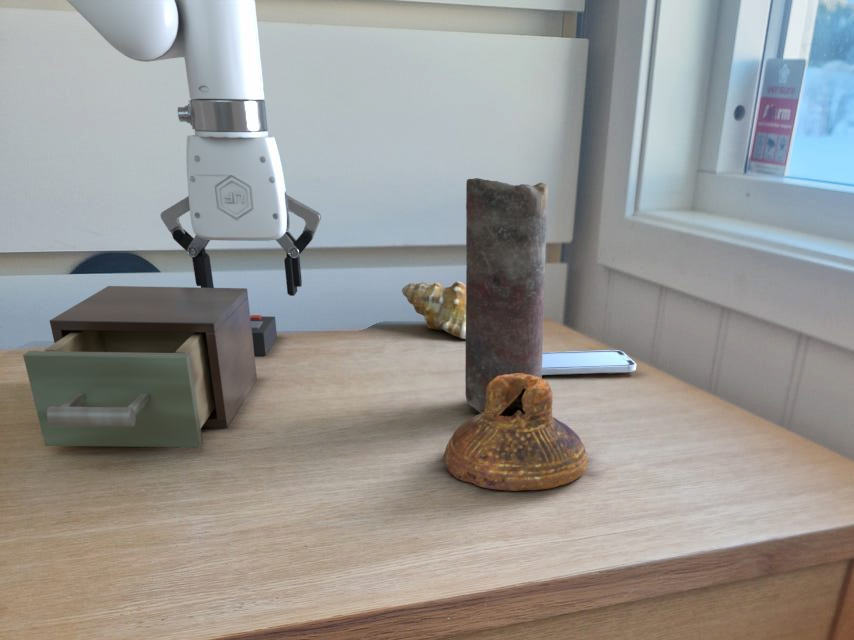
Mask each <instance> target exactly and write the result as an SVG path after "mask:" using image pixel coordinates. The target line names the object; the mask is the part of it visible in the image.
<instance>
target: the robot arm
mask: <svg viewBox="0 0 854 640" xmlns="http://www.w3.org/2000/svg"><path fill="white" fill-rule="evenodd" d="M66 1H67V3H68V4H70V5H71V6H72V7H73V9H75V10H76V11H77V12H78V13H79V14H80V15H81V17H82V18H84V19H85V21H87V22H88V23H89V24H90V25H91V26H92V27H93V29H94V30H96V32H97V33H98V34H99V35H100V36H102V38H103V39H104V40H105V41H106V42H107V43H108V44H109V45H110V46H111V47H112V48H114V49H115V50H116V51H117V52H119V53H121V55H123V56H126V57H127V58H129V59H132V60H134V61H137V62H146V63H147V62H148V63H149V62H156V61H164V60H169V59H178V58H184V64H185V72H186V79H187V85H188V94H189V100H188V104H187V105H184V106H178V107H177V117H178V120H179V123H187V124H190V126H191V128H192V130H194V134H192V135H187V136H186V157H185V158H186V159H185V160H186V179H187V194H188V196H186V197H185V198H183V199H181V200H179V201H178V202H176V203H174V204H173V205H172V206H170V207H168V208H167V209H165V210H163V211H162V212H161V213H160V219H161V220H162V222H163V224H164V225H165V227H166V228H167V230H168V231H169V232H170V234H171V235H172V239H173V240H174V241H175V242H176V243H177V244H178V245H179V246H180V247H181V248H182V249H183V250H184V251H186V253H187V254H188V256H189V257H191V260H192V267H193V273H194V278H195V281H194V282H195V285H196V286H197V287H200V288H215V285H214V279H213V273H212V264H211V257H210V255H209V254H208V252H206V251H207V250H206V247H207V246H208V244H210V241H228V242H229V241H231V242H233V241H236V242H237V241H238V242H239V241H240V242H241V241H242V242H245V241H246V242H248V241H249V242H253V241H254V242H269V241H276V242H277V243H278V244H279V245H280V247H281V248H282V249H283V250H284V252H286V257H285V258H284V260H283V261H284V273H285V281H286V292H287V295H288V296H289V297H293V296H294V297H295V295H296V294H297V292H298V288H301V287H302V286H303V285H302V284H303V280H302V268H301V257H300V255H301V254H302V253H303V251H304V250H305V249H306V247H307V246H308V245H309V244H310V243H311V242H312V241H313V239H314V238H315V234H316V232H317V230H318V227H319V225H320V222H321V220H322V215H321V213H320V212H318V211H317V210H315V209H313V208H311V207H310V206H308V205H306V204H304V203H303V202H301V201H299V200H296V199H295V198H294V197H291V196H290V195H288V194H287V189H286V182H285V177H284V176H285V175H284V170H283V165H282V160H281V156H280V151H279V148H278V145H277V142H276V138H275V136H274V135H269V131H268V130H269V129H268V120H267V119H268V118H267V109H266V101H265V98H266V97H265V90H264V80H263V68H262V59H261V48H260V37H259V28H258V27H259V26H258V18H257V17H258V16H257V8H256V0H66ZM188 212H189V216H190V222H191V223H190V224H191V228H192V231H193V233H194V234H195V236H194V237H193V236H192V235H191V234H190V233H189V232H188V231H186V229H184V228H183V226H182V224H181V222H180V218H181V216H183V215H185V214H186V213H188ZM290 213H291V214H294V215H295V216H297V217H299V218H301V219H302V220H303V221H304V223H305V225H304V226H303V227H304V228H303V230H302V233H300V234H299V236H298V237H297V238H295V237H294V236H293V234H292V233H291V232H290V231H289V230H290V224H291V223H290Z"/></svg>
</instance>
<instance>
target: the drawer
mask: <svg viewBox="0 0 854 640" xmlns="http://www.w3.org/2000/svg"><path fill="white" fill-rule="evenodd" d="M22 357H23V361H24V364H25V369H26V372H27V377H28V382H29V386H30V390H31V393H32V397H33V402H34V405H35V410H36V414H37V419H38V422H39V426H40V429H41V435H42V438H43V443H44V446H45V447H118V448H119V447H120V448H121V447H125V448H126V447H127V448H129V447H130V448H135V447H136V448H200V447H201V445H202V444H203V437H202V428H201V427H202V426H203V424H204V423H205V422H206V420H207V419H208V417H209V416H210V415H211V413H212V412H213V410H214V409H215V407H216V406H215V399H214V391H213V384H212V377H211V369H210V362H209V354H208V347H207V340H206V332H145V331H79V330H74V331H73V332H71V333H70V334H68V335H66V336H65V337H63V338H62V339H60V340H59V341H57V342H56V343H54V342H53V344H51V345H50V346H48V347H47V348H44V350H28V351H27V352H25V353H23V355H22Z"/></svg>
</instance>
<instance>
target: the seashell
mask: <svg viewBox="0 0 854 640" xmlns="http://www.w3.org/2000/svg"><path fill="white" fill-rule="evenodd" d="M401 293H402V295H403V296H404V297H405V298H406V300H407V302H408V303H409V304H410V305H412V306H413V308H414V311H415V313H417V314H419V315H421V316H423V318H424V321H425V323H426V324H425V325H426V327H427V328H429V329H433V330H436V331H437V330H438V331H445V332H446V333H448V334H450V335H452V336H454V337H457V338H459V339H463V340H466V283H465V284H464V282H462V281H455V282H454V283H453V284H452V285H451V286H447V287H444V286H443V285H441V284H440V282H439V281H437V282H436V281H435V282H434V283H433V284H427V283H426V282H424V281H422V282H420V283H415V282H410V283H408V284H406V285H405V286H404V287H402V290H401Z"/></svg>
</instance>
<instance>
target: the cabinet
mask: <svg viewBox="0 0 854 640" xmlns="http://www.w3.org/2000/svg"><path fill="white" fill-rule="evenodd" d="M250 316H251V312H250V303H249V293H248V288H247V287H245V288H244V287H243V288H241V287H214V288H201V287H193V286H192V287H191V286H190V287H188V286H187V287H186V286H184V287H183V286H131V285H107V286H105V287H104V288H102V289H101V290H99V291H97V292H96V293H94V294H92V295H91V296H89V297H87V298H85V299H83V300H81V301H80V302H78V303H77V304H75V305H73V306H72V307H70V308H68V309H67V310H65V311H63V312H61V313H59V314H58V315H57V316H54V317H53V318H51V319H49V326H50V329H51V334H52V338H53V344H54V343H56V342H57V341H59V340H60V339H62V338H63V337H65V336H66V335H68V334H70V333H71V332H73V331H74V330H79V331H145V332H206V340H207V347H208V354H209V362H210V369H211V377H212V384H213V391H214V399H215V406H216V407H215V409H214V410H213V412H212V413H211V415H210V416H209V417H208V419H207V420H206V422H205V423H204V424H203V426H202V427H201V429H207V428H208V429H209V428H210V429H227V428H228V427H229V426H230V424H231V423H232V421H233V419H234V418H235V416H236V415H237V413H238V411H239V410H240V408H241V406H242V405H243V403H244V402H245V400H246V398H247V397H248V395H249V394H250V392H251V391H252V389H253V387H254V385H255V384H256V383H257V381H258V376H257V375H258V374H257V368H256V356H254V347H253V338H252V329H251V320H250Z"/></svg>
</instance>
